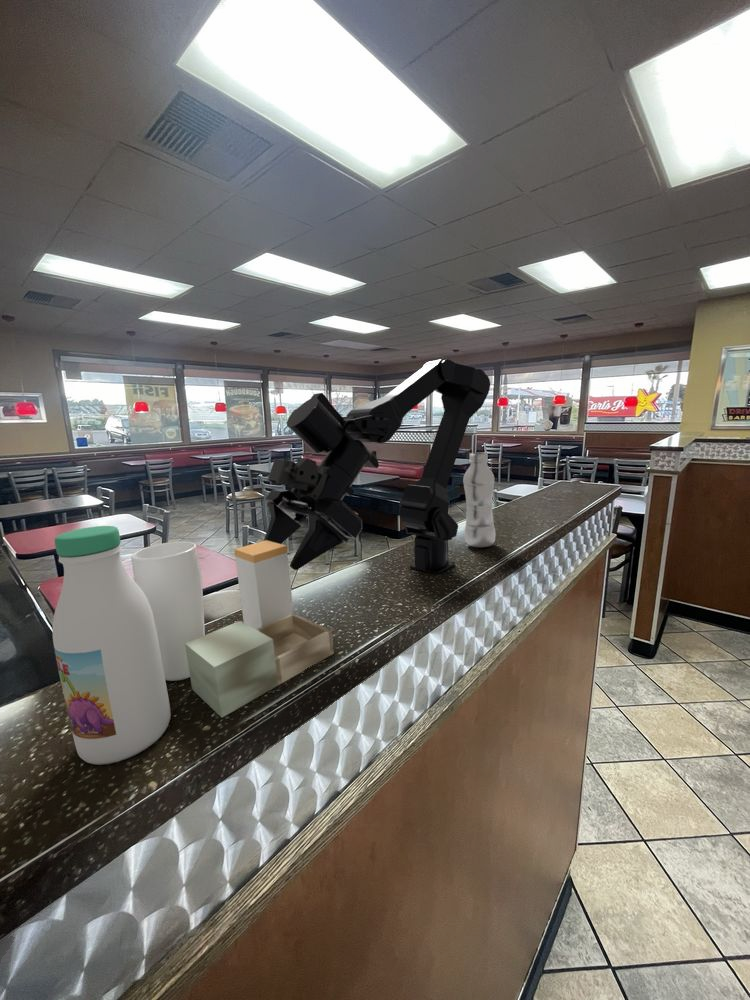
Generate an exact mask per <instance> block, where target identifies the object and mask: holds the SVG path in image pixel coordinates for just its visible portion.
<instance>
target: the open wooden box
mask: <svg viewBox="0 0 750 1000" xmlns="http://www.w3.org/2000/svg"><path fill="white" fill-rule="evenodd" d="M185 647H186V654H187V660H188V666H189V672H190V677H189V678H190V685H191V689H192V691H193V692H194V693H195V694H196V695H198V697H200V698H201V700H203V701H204V702H205V703H206V704H207V705H208V706H209V707H210V708H211V709H212V710H213V711H214V712H215V713H216V714H217V715H218V716H219V717H220V718H224V717H226V716H227V715H229V714H231V713H233V712H235V711H236V710H238V709H240V708H242V707H243V706H245V705H247V704H248V703H250V702H252V701H253V700H255V699H257V698H259V697H261V696H262V695H264V694H265V693H267V692H269V691H271V690H272V689H274V688H276V687H278V686H280V685H281V684H283V683H285V682H286V681H288V680H290V679H291V678H294V677H295V676H297V675H299V674H301V673H303V672H304V671H306V670H308V669H309V668H311V667H313V666H315V665H316V664H318V663H320V662H321V661H323V660H325V659H326V658H328V657H330V656H333V654H334V652H335V651H334V640H333V630H331V629H329V628H326V627H325V626H322V625H320V624H318V623H315V622H313V621H311V620H309V619H307V618H305V617H303V616H301V615H298V614H296V613H292V614H290V615H288V616H286V617H283V618H281V619H279V620H277V621H274V622H272V623H270V624H268V625H265V626H263V627H261V628H259V629H254V628H252V627H251V626H249V625H247V624H245V623H244V621H243V620H239V621H236V622H234V623H231V624H229V625H227V626H223V627H222V628H220V629H217V630H214V631H212V632H210V633H207V634H205V635H204V636H202V637H200V638H197V639H195V640H192V641H190V642H188V643H185ZM314 664H315V665H314ZM312 665H313V666H312ZM310 666H311V667H310ZM308 667H309V668H308ZM307 668H308V669H307ZM305 669H306V670H305Z"/></svg>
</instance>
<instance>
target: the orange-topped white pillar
mask: <svg viewBox="0 0 750 1000" xmlns="http://www.w3.org/2000/svg"><path fill="white" fill-rule="evenodd" d="M287 549H288V548H287V545H285V544H282V543H281V544H279V543H275V542H271V541H268V540H265V541H264V540H262V541H257V542H254V543H252V544H248V545H245V546H241V547H236V548H233V550H234V559H235V566H236V567H235V568H236V573H237V581H238V589H239V596H240V603H241V610H242V611H241V612H242V621H243V622H244V623H245V624H247V625H249V626H251V627H252V628H254V629H259V628H261V627H263V626H265V625H268V624H270V623H272V622H274V621H277V620H279V619H281V618H283V617H286V616H288V615H290V614H292V613H294V604H293V602H294V601H293V594H292V587H291V586H292V585H291V574H290V564H289V557H288V550H287ZM294 614H295V613H294Z"/></svg>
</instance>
